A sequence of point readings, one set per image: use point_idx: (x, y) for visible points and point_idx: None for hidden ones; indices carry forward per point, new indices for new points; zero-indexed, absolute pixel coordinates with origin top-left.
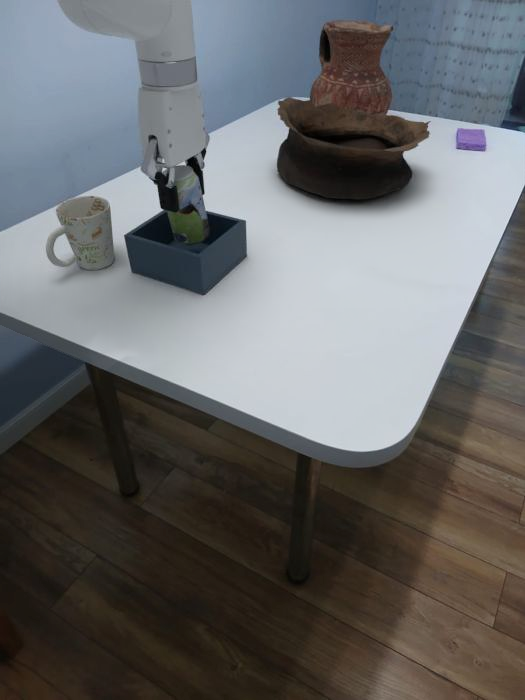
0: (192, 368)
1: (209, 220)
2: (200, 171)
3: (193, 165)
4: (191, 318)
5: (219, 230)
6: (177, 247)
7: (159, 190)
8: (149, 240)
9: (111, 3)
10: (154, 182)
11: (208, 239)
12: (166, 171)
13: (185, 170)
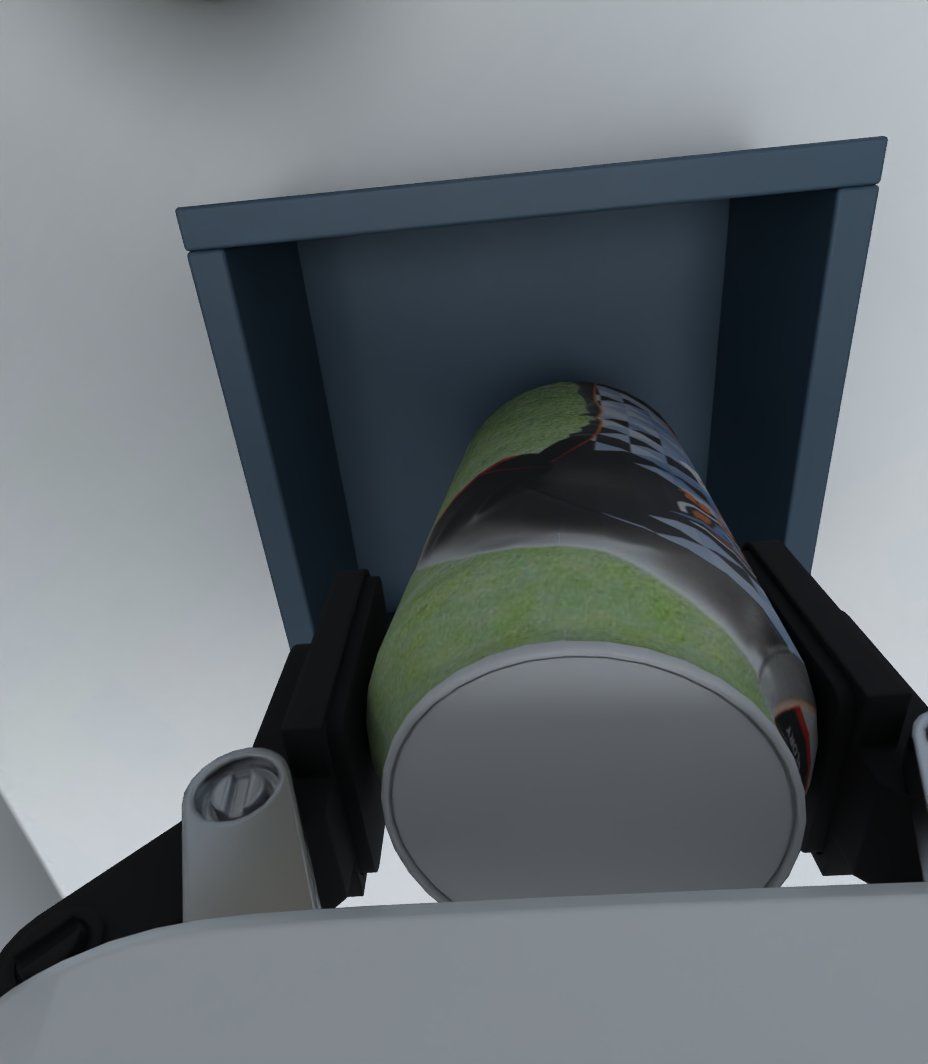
0: (62, 784)
1: (767, 494)
2: (824, 868)
3: (876, 848)
4: (217, 662)
5: (741, 533)
6: (599, 280)
7: (257, 745)
8: (256, 435)
9: None
10: (159, 836)
11: (721, 425)
12: (578, 682)
13: (672, 873)
